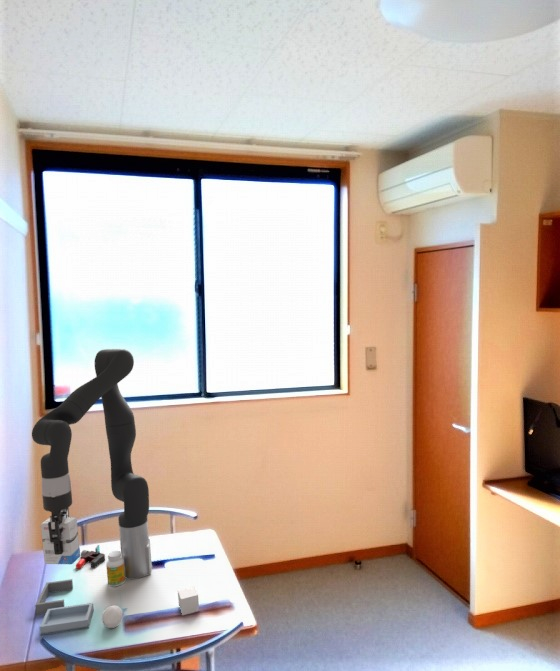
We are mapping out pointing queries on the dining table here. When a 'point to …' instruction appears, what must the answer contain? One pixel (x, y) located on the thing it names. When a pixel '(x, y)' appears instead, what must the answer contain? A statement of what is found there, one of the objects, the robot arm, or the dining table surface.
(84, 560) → the toy gun
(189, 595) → the white cube
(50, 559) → the ink box
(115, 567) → the supplement bottle
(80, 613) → the tray
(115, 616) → the white ball
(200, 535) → the dining table surface
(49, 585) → the cradle
